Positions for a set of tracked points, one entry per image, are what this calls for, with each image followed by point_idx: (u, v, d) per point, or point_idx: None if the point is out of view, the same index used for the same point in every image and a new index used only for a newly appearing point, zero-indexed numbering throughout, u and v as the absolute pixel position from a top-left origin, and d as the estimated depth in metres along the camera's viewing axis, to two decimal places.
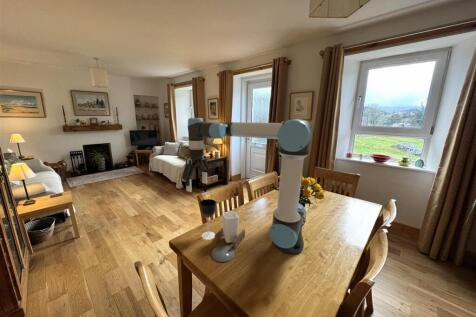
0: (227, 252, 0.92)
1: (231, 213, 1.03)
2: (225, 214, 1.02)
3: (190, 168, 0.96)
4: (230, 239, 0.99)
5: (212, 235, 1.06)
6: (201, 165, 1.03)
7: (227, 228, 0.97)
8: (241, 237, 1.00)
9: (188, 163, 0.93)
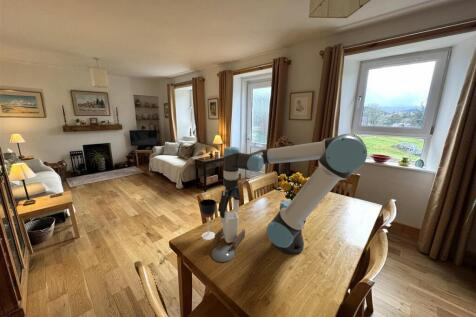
0: (227, 252, 0.92)
1: (231, 213, 1.03)
2: None
3: None
4: (230, 239, 0.99)
5: (212, 235, 1.06)
6: (234, 194, 1.00)
7: (227, 228, 0.97)
8: (241, 237, 1.00)
9: (224, 195, 0.90)
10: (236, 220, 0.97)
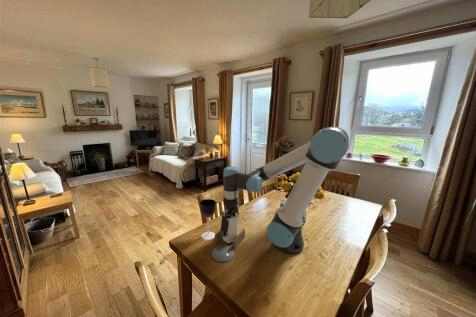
0: (227, 252, 0.92)
1: None
2: None
3: None
4: (230, 239, 0.99)
5: (212, 235, 1.06)
6: (233, 213, 1.01)
7: None
8: (241, 237, 1.00)
9: (224, 216, 0.93)
10: (236, 220, 0.97)
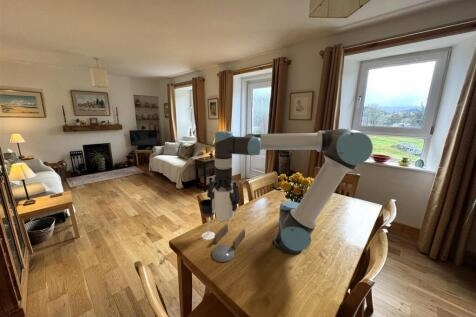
0: (227, 252, 0.92)
1: (231, 191, 0.85)
2: None
3: None
4: (216, 213, 0.87)
5: (212, 235, 1.06)
6: None
7: None
8: (241, 237, 1.00)
9: None
10: (216, 195, 0.82)
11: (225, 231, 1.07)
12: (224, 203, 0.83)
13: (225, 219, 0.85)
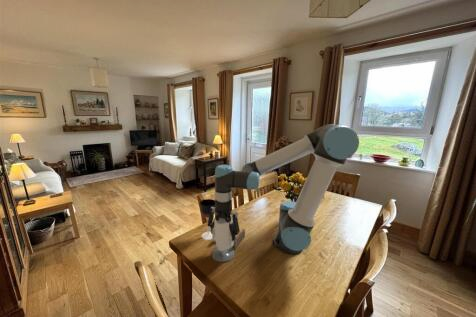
0: (227, 252, 0.92)
1: (230, 222, 0.88)
2: None
3: None
4: (216, 242, 0.90)
5: None
6: None
7: None
8: (241, 237, 1.00)
9: None
10: (216, 226, 0.85)
11: None
12: (224, 234, 0.86)
13: (225, 248, 0.88)
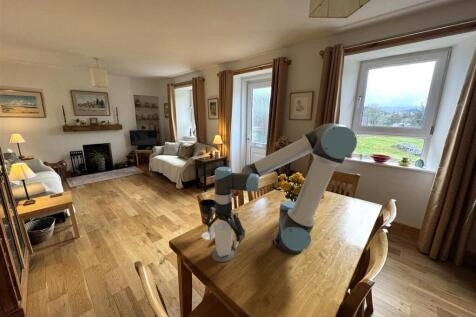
0: None
1: (230, 228, 0.89)
2: (228, 224, 0.92)
3: None
4: (216, 248, 0.91)
5: None
6: None
7: None
8: (241, 237, 1.00)
9: None
10: (217, 232, 0.86)
11: None
12: (224, 240, 0.86)
13: (225, 254, 0.89)
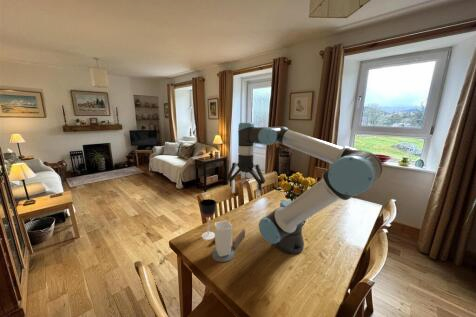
0: None
1: (230, 228, 0.89)
2: (228, 224, 0.92)
3: None
4: (216, 248, 0.91)
5: (212, 235, 1.06)
6: None
7: None
8: (241, 237, 1.00)
9: None
10: (217, 232, 0.86)
11: None
12: (224, 240, 0.86)
13: (225, 254, 0.89)
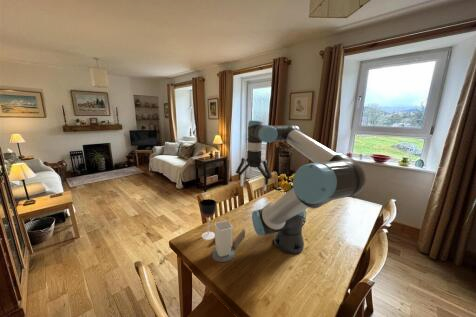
0: None
1: (231, 228, 0.89)
2: (228, 224, 0.92)
3: (245, 166, 1.05)
4: (216, 248, 0.91)
5: (212, 235, 1.06)
6: None
7: None
8: (241, 237, 1.00)
9: None
10: (217, 232, 0.86)
11: None
12: (224, 240, 0.86)
13: (225, 254, 0.89)
